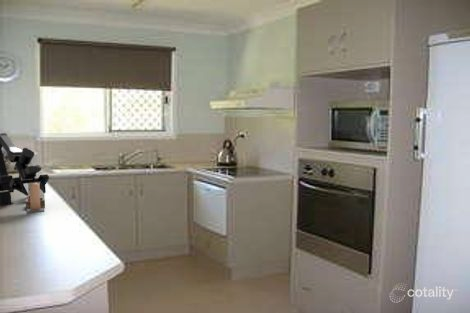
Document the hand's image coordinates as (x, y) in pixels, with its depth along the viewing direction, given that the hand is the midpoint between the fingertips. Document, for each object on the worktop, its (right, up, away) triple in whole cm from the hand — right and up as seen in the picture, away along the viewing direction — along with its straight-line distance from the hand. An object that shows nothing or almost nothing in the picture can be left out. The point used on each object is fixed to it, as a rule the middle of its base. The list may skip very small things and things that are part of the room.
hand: (36, 194), depth 238 cm
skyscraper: (-21, -5, +47) cm, 52 cm away
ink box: (-15, -6, +36) cm, 40 cm away
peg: (-1, -8, +2) cm, 8 cm away
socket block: (-5, -8, +12) cm, 15 cm away
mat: (-1, -9, +2) cm, 9 cm away
